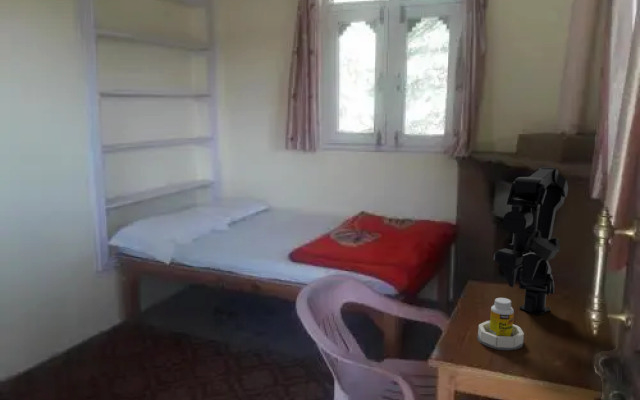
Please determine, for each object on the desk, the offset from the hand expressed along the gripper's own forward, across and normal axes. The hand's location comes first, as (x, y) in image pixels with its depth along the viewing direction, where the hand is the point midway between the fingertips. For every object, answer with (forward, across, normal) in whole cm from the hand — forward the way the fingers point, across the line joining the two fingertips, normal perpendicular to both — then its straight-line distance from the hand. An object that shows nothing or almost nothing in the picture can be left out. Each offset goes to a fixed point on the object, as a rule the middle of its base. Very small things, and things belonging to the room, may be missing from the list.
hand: (521, 283), depth 141 cm
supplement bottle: (+13, -10, -1) cm, 16 cm away
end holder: (+13, -10, -1) cm, 16 cm away
